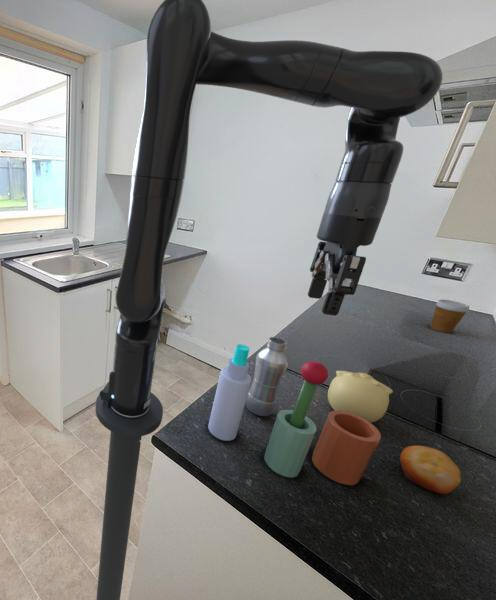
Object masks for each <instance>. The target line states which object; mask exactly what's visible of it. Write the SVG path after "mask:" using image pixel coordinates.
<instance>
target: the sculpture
mask: <svg viewBox="0 0 496 600" xmlns="http://www.w3.org/2000/svg"><path fill="white" fill-rule="evenodd" d="M335 374H336V376H335V377H334V378H332V381H331V382H330V383H329V387H328V390H327V401H328V403H329V405H330V407H331V408H332V409H333V411H345V412H349V413H352V414H355V415H358V416H360V417H362V418H364V419H365V420H367V421H368V422H370V423H371V424H373V423H376V422H377V421H379V420H381V419H382V418H383V417H384V416H385V414H386V413H387V410H388V408H389V403H390V395H391V394H393V392H394V391H393V389H391V388H390V387H389V386H387V385H386V384H384V383H382V382H380V381H378V380H376V379H375V378H373V376H372V375H370V374H368V373H365V372H351V371H347V370H336V371H335Z"/></svg>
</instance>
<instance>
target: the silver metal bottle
mask: <svg viewBox="0 0 496 600" xmlns="http://www.w3.org/2000/svg"><path fill="white" fill-rule="evenodd" d="M287 346H288V341H286V340H285V339H284V338H281V337H277V336H270V337H268V340H267V342H266V347H265V348H262V349H261V350H260V351H259V352H258V353H257V354H256V357H255V367H254V368H255V369H254V372H253V373H254V374H253V379H252V381H251V384H250V387H249V391H248V395H247V398H246V402H245V407H246V408H247V410H248V411H249V412H251V413H253V414H254V415H257V416H259V417H269V416H271V415H272V414H273V413H274V412H275V409H276V404H277V394H278V390H279V389H278V388H279V385H280V384H281V381H282V378H283V376H284V374H285V372H286V371H287V368H288V366H289V361H288V358H287V355H286V353H285V352H286V350H287Z"/></svg>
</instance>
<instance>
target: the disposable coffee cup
mask: <svg viewBox="0 0 496 600" xmlns="http://www.w3.org/2000/svg"><path fill="white" fill-rule="evenodd" d="M468 312H470V305H469V304H466V303H462V302H458V301H455V300H449V299H439V300H437V301H436V302H435V309H434V313H433V317H432V320H431V323H430V328H431V329H432V330H435V331H437V332H441V333H448V334H452V332H453V331H454V329H455V328H456V327H457V326H458V324H459V323H460V322H461V321H462V320H463V318H464V316H465V315H466V314H467V313H468Z"/></svg>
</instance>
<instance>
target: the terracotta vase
mask: <svg viewBox="0 0 496 600" xmlns="http://www.w3.org/2000/svg"><path fill="white" fill-rule="evenodd" d="M381 438H382V434H381V432H380V431H379V429H378V428H377V427H376V426H375V425H374V424H373V423H370V422H368V421H367V420H365V419H364V418H362V417H360V416H358V415H355V414H352V413H349V412H345V411H335V410H331V411H330V412H328V415H327V417H326V419H325V422H324V425H323V427H322V429H321V431H320V434H319V437H318V440H317V441H316V445H315V447H314V450H313V452H312V455H311V460H312V463H313V465H314V467H315V468H316V469H317V470H318V471H319V472H320V473H321V474H323V475H324V476H326V478H328V479H330V480H332V481H334V482H335V483H338V484H342V485H346V486H355V485H357V484H358V483H359V482H360V480H361V479H362V477H363V475H364V473H365V471H366V469H367V467H368V465H369V463H370V462H371V459H372V457H373V455H374V453H375V451H376V449H377V447H378V445H379V443H380V441H381Z"/></svg>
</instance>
